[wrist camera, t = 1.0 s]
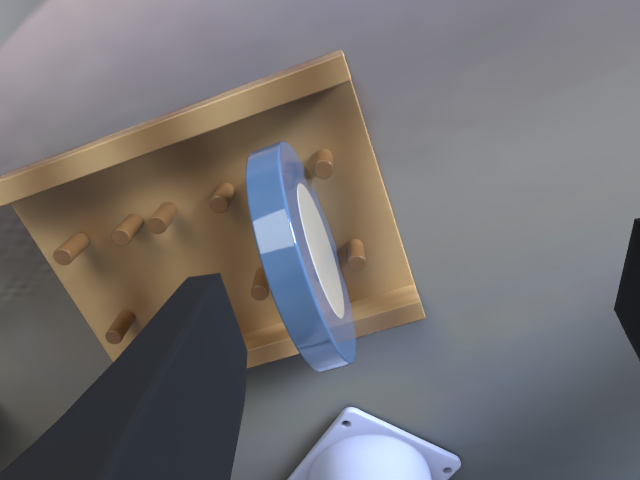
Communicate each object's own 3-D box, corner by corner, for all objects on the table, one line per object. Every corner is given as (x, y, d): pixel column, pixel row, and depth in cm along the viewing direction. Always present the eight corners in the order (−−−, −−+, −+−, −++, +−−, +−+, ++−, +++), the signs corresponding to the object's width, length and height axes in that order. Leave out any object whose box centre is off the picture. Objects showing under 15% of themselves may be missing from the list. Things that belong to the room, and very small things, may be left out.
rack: (131, 374, 27) (113, 409, 25) (4, 174, 22) (-34, 193, 20) (417, 291, 25) (426, 321, 22) (341, 48, 20) (343, 53, 18)
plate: (327, 293, 24) (328, 426, 16) (261, 128, 21) (224, 197, 13) (351, 286, 24) (364, 416, 16) (289, 118, 20) (267, 182, 13)
